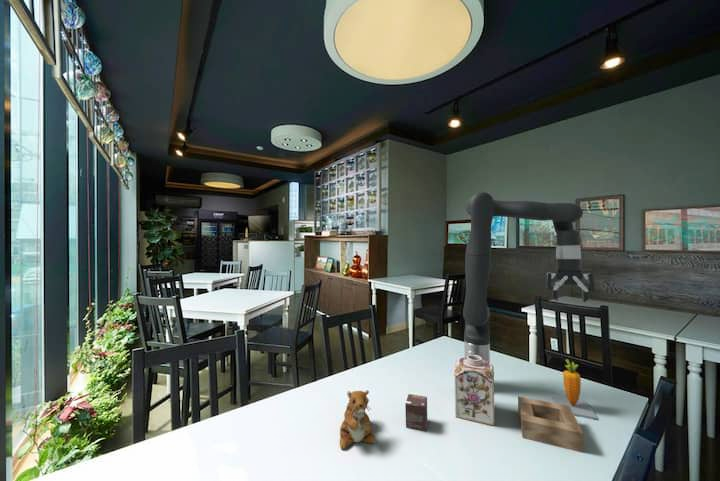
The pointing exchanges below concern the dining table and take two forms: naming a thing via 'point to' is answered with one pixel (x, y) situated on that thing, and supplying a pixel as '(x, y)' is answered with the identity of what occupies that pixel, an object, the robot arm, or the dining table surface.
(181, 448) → the dining table surface
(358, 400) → the stuffed squirrel
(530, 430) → the socket block
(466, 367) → the decorative jar
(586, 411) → the rubber mat
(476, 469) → the dining table surface
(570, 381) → the carrot
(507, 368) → the dining table surface
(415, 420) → the box
